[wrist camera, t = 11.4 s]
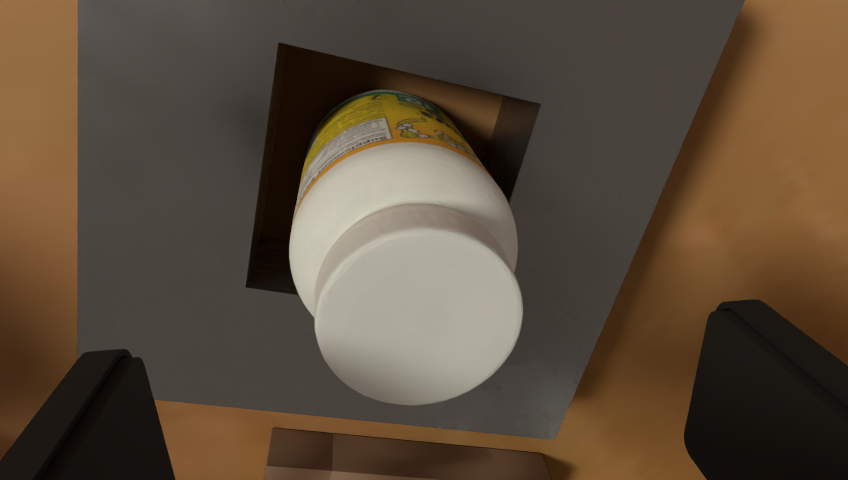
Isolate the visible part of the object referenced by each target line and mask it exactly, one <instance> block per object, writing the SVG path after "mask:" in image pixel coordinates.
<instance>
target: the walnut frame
mask: <svg viewBox="0 0 848 480" xmlns="http://www.w3.org/2000/svg"><path fill="white" fill-rule="evenodd" d="M264 480H552V479H551V477H550V474H549V472H548V469H547V467H546V464H545V462H544V460H543V457H542V455H541V453H532V452H522V451H511V450H501V449H490V448H480V447H469V446H458V445H448V444H437V443H427V442H416V441H406V440H395V439H385V438H374V437H363V436H353V435H342V434H332V433H321V432H311V431H300V430H290V429H279V428H273V429H272V435H271V441H270V446H269V452H268V458H267V464H266V469H265V475H264Z"/></svg>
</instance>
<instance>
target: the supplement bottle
mask: <svg viewBox="0 0 848 480" xmlns="http://www.w3.org/2000/svg"><path fill="white" fill-rule="evenodd" d="M517 253H518V240H517V231H516V225H515V221H514V218H513V215H512V211H511V209H510V207H509V204H508V202H507V199H506V197H505V195H504V194H503V192H502V190H501V189H500V188H499V186H498V185H497V184H496V182H495V181H494V180H493V178H492V177H491V175H490V174H489V173H488V171H487V170H486V169H485V167H484V166H483V164H482V163H481V162H480V160H479V159H478V157H477V156H476V155H475V153H474V152H473V150H472V149H471V147H470V146H469V145H468V143H467V142H466V140H465V139H464V137H463V136H462V135H461V133H460V132H459V131H458V129H457V128H456V127H455V125H454V124H453V123H452V121H451V120H450V119H449V118H448V117H447V116H446V115H445V114H444V113H443V112H442V111H441V110H440V109H439V108H437V107H436V106H435V105H433V104H432V103H430V102H428V101H426V100H424V99H422V98H419V97H417V96H414V95H411V94H408V93H405V92H401V91H396V90H383V89H380V90H372V91H367V92H364V93H360V94H357V95H355V96H353V97H351V98H348V99H347V100H345V101H343V102H342V103H340V104H339V105H338V106H336V107H335V108H334V109H332V110H331V111H330V112H329V113H328V114H327V115H326V116H325V118H324V119H323V120H322V121H321V122H320V124H319V125H318V127H317V128H316V130H315V132H314V134H313V135H312V138H311V140H310V143H309V146H308V149H307V153H306V157H305V162H304V167H303V171H302V176H301V181H300V187H299V192H298V197H297V203H296V207H295V212H294V217H293V222H292V229H291V235H290V244H289V260H290V268H291V273H292V277H293V280H294V284H295V286H296V289H297V291H298V294H299V296H300V297H301V299H302V301H303V303H304V305H305V306H306V308H307V309H308V310H309V312H310V313H311V314H312V316H313V317H314V318H315V333H316V338H317V342H318V345H319V348H320V351H321V353H322V355H323V358H324V359H325V361H326V363H327V364H328V366H329V367H330V368H331V370H332V371H333V372H334V373H335V375H336V376H337V377H338V378H339V379H340V380H342V381H343V382H344V383H345V384H346V385H348V386H349V387H350V388H352V389H354V390H355V391H357V392H359V393H361V394H362V395H364V396H367V397H370V398H372V399H375V400H378V401H381V402H385V403H392V404H399V405H424V404H432V403H436V402H441V401H445V400H448V399H451V398H455V397H457V396H459V395H462V394H464V393H466V392H468V391H470V390H471V389H473V388H475V387H476V386H478V385H480V384H481V383H483V382H484V381H485V380H487V379H488V378H489V377H490V376H491V375H493V374H494V373H495V372H496V370H497V369H498V368H499V367H500V366H501V365H502V364H503V363H504V362H505V360H506V359H507V358H508V356H509V355H510V353H511V352H512V350H513V348H514V346H515V344H516V342H517V339H518V337H519V334H520V330H521V325H522V319H523V301H522V294H521V290H520V287H519V284H518V281H517V278H516V276H515V274H514V272H515V267H516V262H517Z"/></svg>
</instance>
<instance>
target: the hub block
mask: <svg viewBox="0 0 848 480" xmlns="http://www.w3.org/2000/svg"><path fill="white" fill-rule="evenodd" d="M744 1H745V0H78V359H79V357H80V356H81V355H82V354H83V353H85V352H89V351H101V350H114V349H126V350H128V351H129V352H130V353H131V355H132V357H140V358H141V359H142V360H143V362H144V365H145V368H146V372H147V376H148V379H149V383H150V387H151V391H152V394H153V398H154V399H155V400H165V401H175V402H185V403H195V404H205V405H215V406H224V407H234V408H244V409H254V410H264V411H274V412H284V413H294V414H304V415H314V416H324V417H334V418H344V419H354V420H364V421H373V422H383V423H393V424H403V425H413V426H423V427H433V428H443V429H453V430H463V431H473V432H483V433H493V434H503V435H512V436H522V437H532V438H542V439H552V440H555V438H556V436H557V433H558V431H559V429H560V426H561V424H562V422H563V420H564V417H565V415H566V413H567V410H568V408H569V406H570V403H571V401H572V399H573V396H574V394H575V392H576V389H577V387H578V385H579V383H580V380H581V378H582V376H583V373H584V371H585V369H586V366H587V364H588V362H589V359H590V357H591V355H592V352H593V350H594V348H595V346H596V343H597V341H598V339H599V336H600V334H601V332H602V329H603V327H604V325H605V322H606V320H607V318H608V315H609V313H610V311H611V309H612V306H613V304H614V302H615V299H616V297H617V295H618V292H619V290H620V288H621V285H622V283H623V281H624V278H625V276H626V274H627V272H628V269H629V267H630V265H631V262H632V260H633V258H634V255H635V253H636V251H637V248H638V246H639V244H640V241H641V239H642V237H643V235H644V232H645V230H646V228H647V225H648V223H649V221H650V218H651V216H652V214H653V211H654V209H655V207H656V204H657V202H658V200H659V198H660V195H661V193H662V191H663V188H664V186H665V184H666V181H667V179H668V177H669V174H670V172H671V170H672V167H673V165H674V163H675V161H676V158H677V156H678V154H679V151H680V149H681V147H682V144H683V142H684V140H685V137H686V135H687V133H688V130H689V128H690V126H691V124H692V121H693V119H694V117H695V114H696V112H697V110H698V107H699V105H700V103H701V100H702V98H703V96H704V93H705V91H706V89H707V87H708V84H709V82H710V80H711V77H712V75H713V73H714V70H715V68H716V66H717V63H718V61H719V59H720V57H721V54H722V52H723V50H724V47H725V45H726V43H727V40H728V38H729V36H730V33H731V31H732V29H733V26H734V24H735V22H736V20H737V17H738V15H739V13H740V10H741V8H742V6H743V3H744ZM289 45H292V46H297V47H301V48H305V49H309V50H314V51H318V52H322V53H326V54H331V55H335V56H339V57H343V58H348V59H352V60H356V61H360V62H365V63H369V64H373V65H377V66H382V67H386V68H390V69H394V70H399V71H403V72H407V73H412V74H416V75H420V76H424V77H429V78H433V79H437V80H441V81H446V82H450V83H454V84H458V85H463V86H467V87H471V88H475V89H480V90H484V91H488V92H492V93H497V94H501V95H504V98H503V101H502V105H501V108H500V111H499V115H498V118H497V122H496V125H495V128H494V132H493V135H492V139H491V142H490V145H489V149H488V152H487V156H486V159H485V162H484V167H485V169H486V170H487V171H488V173H489V174H490V175H491V177H492V178H493V180H494V181H495V182H496V184H497V185H498V186H499V188H500V189H501V190H502V192H503V194H504V195H505V197H506V199H507V202H508V204H509V207H510V209H511V211H512V215H513V218H514V221H515V225H516V231H517V240H518V253H517V262H516V267H515V272H514V274H515V276H516V278H517V281H518V284H519V287H520V290H521V294H522V301H523V319H522V325H521V330H520V334H519V337H518V339H517V342H516V344H515V346H514V348H513V350H512V352H511V353H510V355H509V356H508V358H507V359H506V360H505V362H504V363H503V364H502V365H501V366H500V367H499V368H498V369H497V370H496V372H495V373H494V374H493V375H491V376H490V377H489V378H488V379H487V380H485V381H484V382H483V383H481V384H480V385H478V386H476V387H475V388H473V389H471V390H470V391H468V392H466V393H464V394H462V395H459V396H457V397H455V398H451V399H448V400H445V401H441V402H436V403H432V404H424V405H399V404H392V403H385V402H381V401H378V400H375V399H372V398H370V397H367V396H364V395H362V394H361V393H359V392H357V391H355V390H354V389H352V388H350V387H349V386H348V385H346V384H345V383H344V382H343V381H342V380H340V379H339V378H338V377H337V376H336V375H335V373H334V372H333V371H332V370H331V368H330V367H329V366H328V364H327V363H326V361H325V359H324V358H323V355H322V353H321V351H320V348H319V345H318V342H317V338H316V333H315V318H314V317H313V316H312V314H311V313H310V312H309V310H308V309H307V308H306V306H305V305H304V303H303V301H302V299H301V297H300V296H299V294H298V291H297V289H296V286H295V284H294V280H293V277H292V273H291V268H290V260H289V244H290V242H286V241H280V240H274V239H267V238H262V231H263V224H264V217H265V210H266V203H267V196H268V189H269V182H270V174H271V167H272V160H273V153H274V146H275V139H276V132H277V125H278V118H279V111H280V104H281V97H282V90H283V83H284V76H285V69H286V61H287V54H288V47H289Z"/></svg>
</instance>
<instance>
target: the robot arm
mask: <svg viewBox="0 0 848 480" xmlns="http://www.w3.org/2000/svg"><path fill="white" fill-rule="evenodd" d="M684 442H685V446H686V449H687V451H688V453H689V455H690V457H691V458H692V460H693V461H694V462H695V464H696V465H697V467H698V468H699V469H700V471H701V472H702V474H703V475H704V476H705V478H706V479H707V480H848V366H847V365H846V364H844V363H843V362H842V361H840V360H839V359H838V358H836V357H835V356H834V355H832V354H831V353H830V352H828V351H827V350H826V349H824V348H823V347H822V346H821V345H819V344H818V343H817V342H815V341H814V340H813V339H811V338H810V337H809V336H807V335H806V334H805V333H803V332H802V331H801V330H799V329H798V328H797V327H796V326H794V325H793V324H792V323H790V322H789V321H788V320H786V319H785V318H784V317H782V316H781V315H780V314H778V313H777V312H776V311H774V310H773V309H772V308H771V307H769V306H768V305H767V304H765V303H764V302H762V301H760V300H742V301H729V302H723V303H721V304H720V305H719V306H718V307H717V309H716V311H714V312H711V314H710V315H709V317H708V320H707V324H706V329H705V334H704V339H703V344H702V349H701V354H700V358H699V363H698V368H697V373H696V378H695V383H694V388H693V393H692V397H691V402H690V407H689V412H688V417H687V422H686V427H685V431H684ZM0 480H175V477H174V473H173V469H172V466H171V462H170V458H169V454H168V451H167V447H166V443H165V439H164V436H163V432H162V428H161V424H160V421H159V417H158V413H157V409H156V406H155V402H154V398H153V394H152V391H151V387H150V383H149V379H148V376H147V372H146V368H145V365H144V362H143V360H142V359H141V358H140V357H132V355H131V353H130V352H129V351H128V350H126V349H114V350H101V351H89V352H85V353H83V354H82V355H81V356H80V357H79V359H78V360H77V361H76V363H75V364H74V365H73V367H72V368H71V369H70V371H69V372H68V373H67V374H66V376H65V377H64V378H63V380H62V381H61V382H60V384H59V385H58V386H57V387H56V389H55V390H54V391H53V393H52V394H51V395H50V397H49V398H48V399H47V401H46V402H45V403H44V404H43V406H42V407H41V408H40V410H39V411H38V412H37V414H36V415H35V416H34V418H33V419H32V420H31V421H30V423H29V424H28V425H27V427H26V428H25V429H24V431H23V432H22V433H21V435H20V436H19V437H18V438H17V440H16V441H15V442H14V444H13V445H12V446H11V448H10V449H9V450H8V452H7V453H6V454H5V455H4V457H3V458H2V459H1V461H0Z"/></svg>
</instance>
